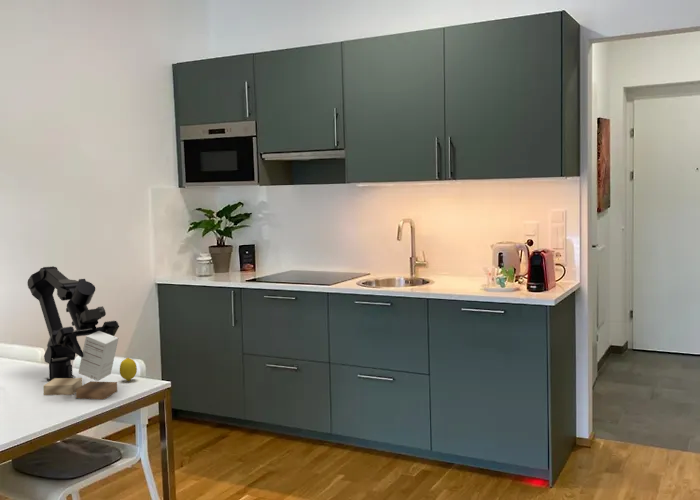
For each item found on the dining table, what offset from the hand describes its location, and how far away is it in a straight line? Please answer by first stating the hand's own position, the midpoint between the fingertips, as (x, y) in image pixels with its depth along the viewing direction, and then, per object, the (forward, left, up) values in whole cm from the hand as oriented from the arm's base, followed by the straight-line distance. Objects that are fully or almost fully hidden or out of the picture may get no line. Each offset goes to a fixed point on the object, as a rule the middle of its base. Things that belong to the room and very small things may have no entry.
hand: (97, 354), depth 222 cm
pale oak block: (-14, +4, -13) cm, 20 cm away
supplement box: (-2, +1, -7) cm, 7 cm away
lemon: (+2, +18, -13) cm, 22 cm away
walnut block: (-1, +1, -13) cm, 13 cm away
